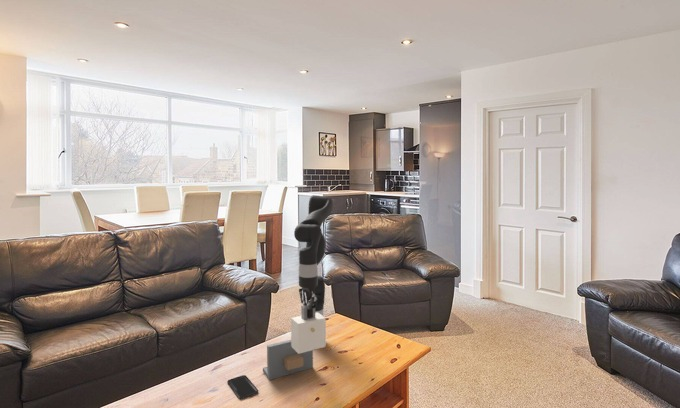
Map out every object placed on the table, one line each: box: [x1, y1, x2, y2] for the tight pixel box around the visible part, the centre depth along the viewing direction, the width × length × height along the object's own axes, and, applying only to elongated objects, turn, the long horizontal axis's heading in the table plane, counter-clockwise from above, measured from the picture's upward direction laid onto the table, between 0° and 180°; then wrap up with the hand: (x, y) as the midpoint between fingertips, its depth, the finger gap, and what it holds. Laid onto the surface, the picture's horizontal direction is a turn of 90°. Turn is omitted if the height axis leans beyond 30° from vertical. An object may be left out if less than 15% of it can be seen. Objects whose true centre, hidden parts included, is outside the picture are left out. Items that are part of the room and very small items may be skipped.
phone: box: [227, 374, 259, 400], centre depth 148 cm, size 8×1×15 cm
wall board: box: [262, 339, 314, 381], centre depth 159 cm, size 12×20×14 cm, turn 120°
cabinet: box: [290, 304, 327, 354], centre depth 149 cm, size 8×12×17 cm, turn 120°
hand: (308, 316), depth 150 cm, fingers closed on cabinet, 2 cm apart
